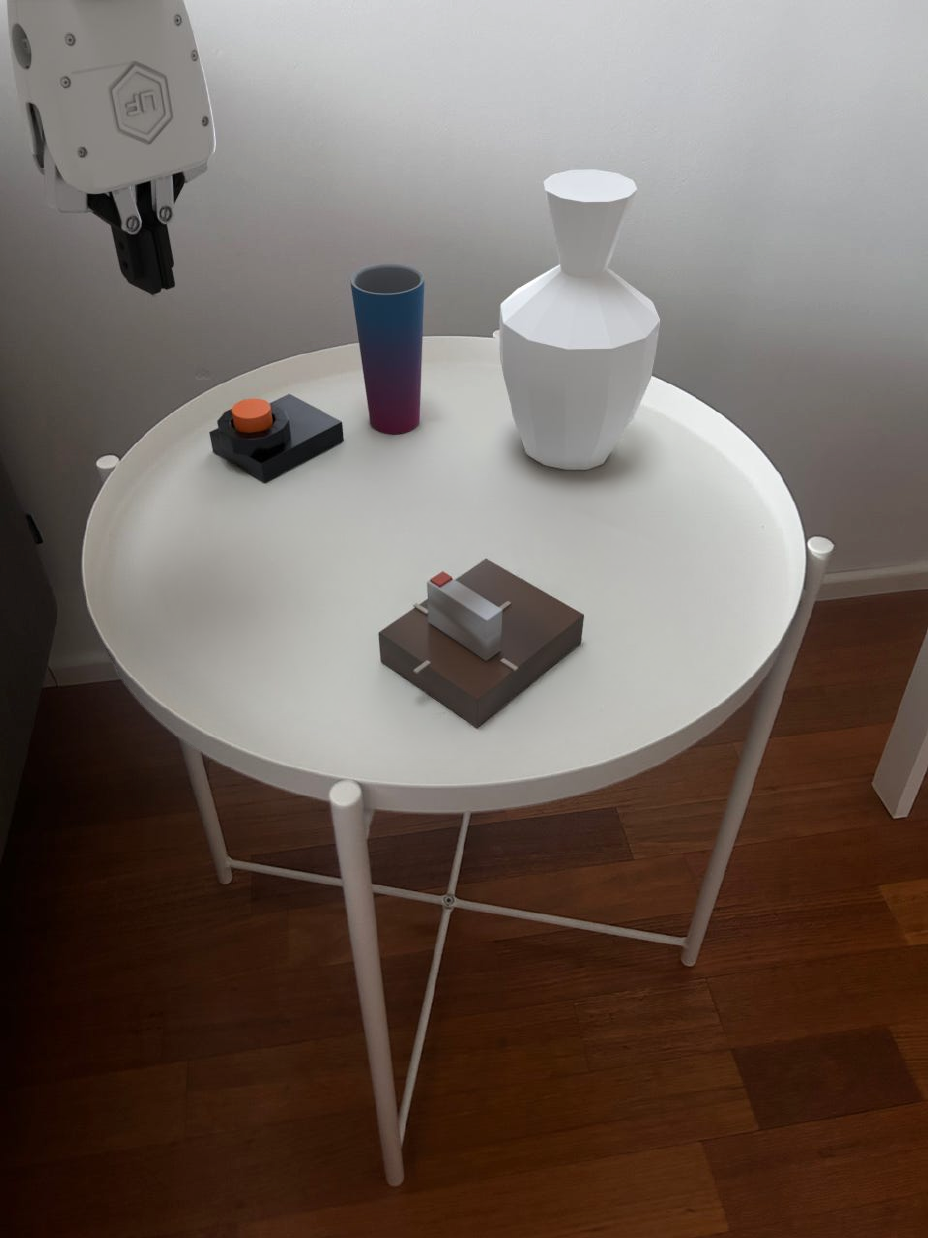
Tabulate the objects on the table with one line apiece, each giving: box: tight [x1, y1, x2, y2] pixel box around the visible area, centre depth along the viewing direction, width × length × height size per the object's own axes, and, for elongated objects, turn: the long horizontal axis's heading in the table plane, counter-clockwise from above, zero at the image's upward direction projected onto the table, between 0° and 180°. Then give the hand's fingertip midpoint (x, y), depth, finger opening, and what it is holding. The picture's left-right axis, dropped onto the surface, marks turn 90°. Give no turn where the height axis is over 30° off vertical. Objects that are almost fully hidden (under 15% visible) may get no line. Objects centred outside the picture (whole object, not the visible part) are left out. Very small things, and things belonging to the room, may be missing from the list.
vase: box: [498, 168, 661, 471], centre depth 90 cm, size 14×14×25 cm
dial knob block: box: [377, 558, 585, 728], centre depth 76 cm, size 13×10×3 cm
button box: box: [208, 393, 345, 484], centre depth 97 cm, size 11×8×4 cm
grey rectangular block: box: [426, 570, 502, 661], centre depth 73 cm, size 6×2×4 cm, turn 46°
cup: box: [349, 262, 426, 435], centre depth 97 cm, size 7×7×15 cm
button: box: [231, 398, 273, 433], centre depth 95 cm, size 4×4×2 cm
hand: (150, 284), depth 65 cm, fingers closed
